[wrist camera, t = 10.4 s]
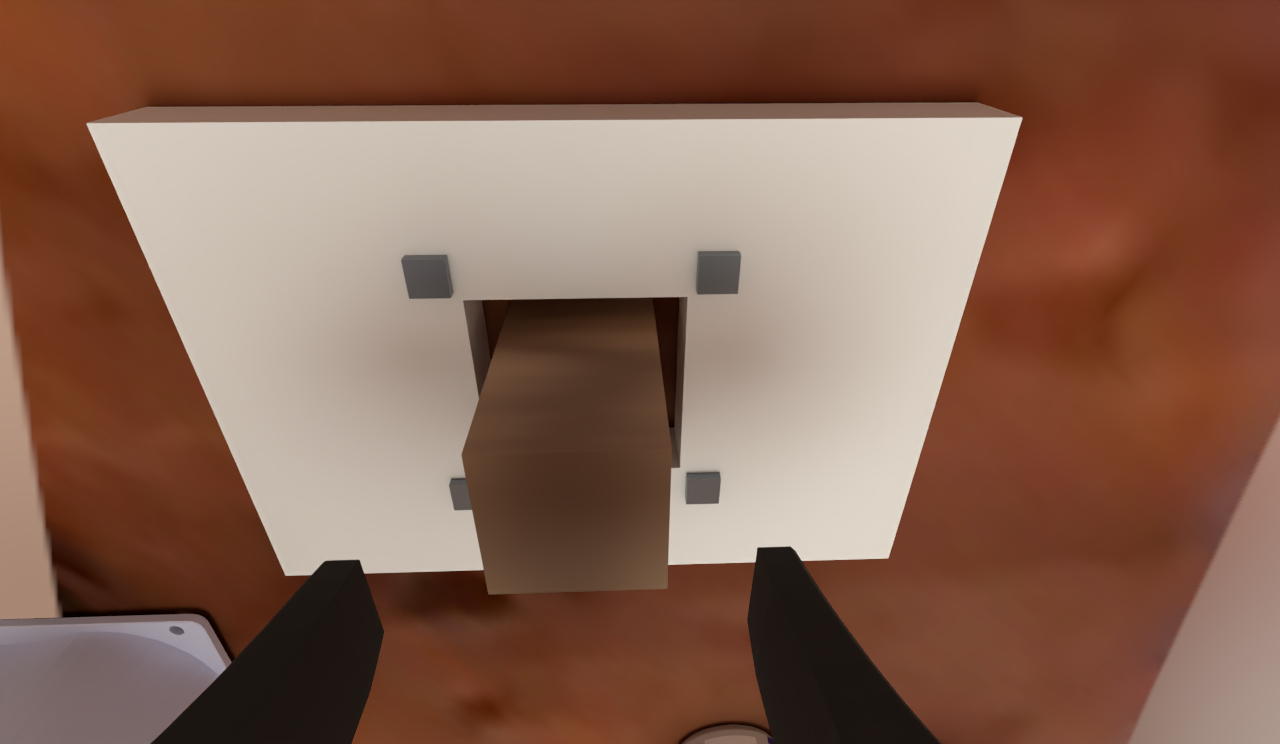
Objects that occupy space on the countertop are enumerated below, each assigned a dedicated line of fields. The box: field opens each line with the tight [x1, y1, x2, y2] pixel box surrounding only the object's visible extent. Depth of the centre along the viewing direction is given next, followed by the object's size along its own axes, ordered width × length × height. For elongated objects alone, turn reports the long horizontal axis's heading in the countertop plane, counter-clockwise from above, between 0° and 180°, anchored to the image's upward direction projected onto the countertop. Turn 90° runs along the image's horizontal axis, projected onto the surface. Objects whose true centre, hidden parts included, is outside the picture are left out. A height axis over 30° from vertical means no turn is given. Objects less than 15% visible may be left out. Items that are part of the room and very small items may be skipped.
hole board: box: [86, 102, 1023, 576], centre depth 18 cm, size 20×14×2 cm
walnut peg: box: [461, 297, 672, 594], centre depth 16 cm, size 4×4×7 cm
